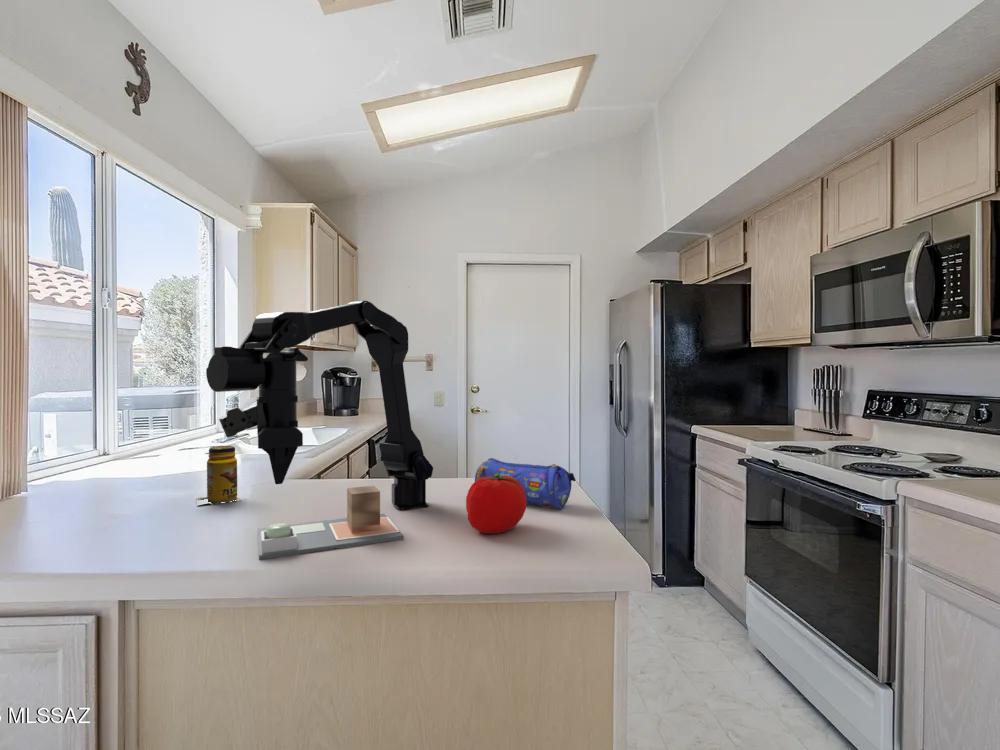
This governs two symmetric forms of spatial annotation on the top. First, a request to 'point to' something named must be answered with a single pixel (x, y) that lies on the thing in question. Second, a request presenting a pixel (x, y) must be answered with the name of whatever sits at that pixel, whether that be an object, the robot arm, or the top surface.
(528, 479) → the pencil case
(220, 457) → the condiment
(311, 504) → the top surface
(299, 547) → the picture board
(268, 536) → the button
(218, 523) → the top surface
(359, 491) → the stamp
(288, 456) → the robot arm
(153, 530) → the top surface
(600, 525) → the top surface
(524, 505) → the tomato
